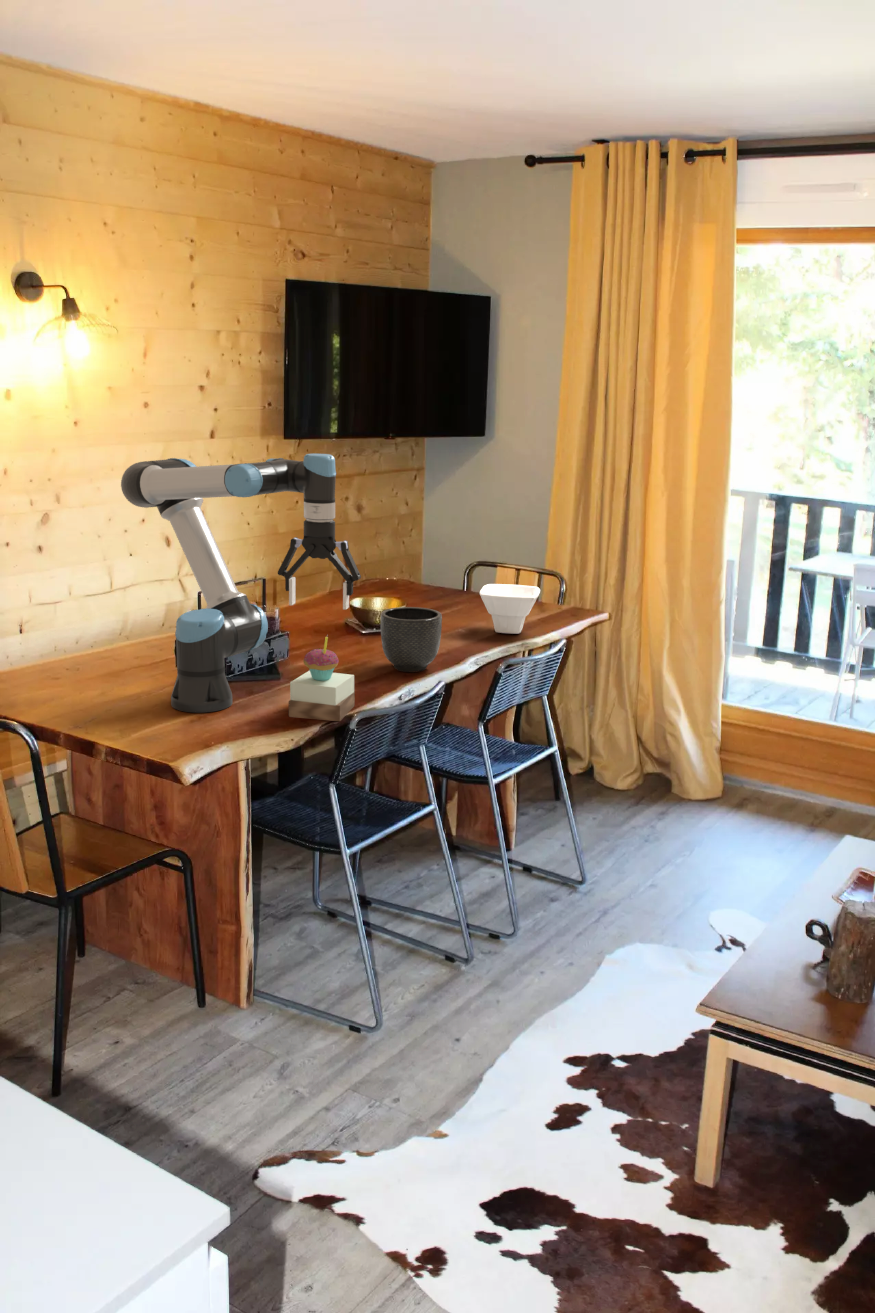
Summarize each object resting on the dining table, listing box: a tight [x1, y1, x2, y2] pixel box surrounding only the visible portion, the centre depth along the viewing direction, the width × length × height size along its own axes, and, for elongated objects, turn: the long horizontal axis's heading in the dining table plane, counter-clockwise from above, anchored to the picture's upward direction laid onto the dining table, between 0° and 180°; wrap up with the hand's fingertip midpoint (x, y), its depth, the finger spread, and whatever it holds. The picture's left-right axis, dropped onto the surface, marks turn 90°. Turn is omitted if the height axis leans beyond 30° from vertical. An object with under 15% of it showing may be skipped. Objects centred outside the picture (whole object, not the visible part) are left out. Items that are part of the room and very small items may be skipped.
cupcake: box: [302, 634, 340, 681], centre depth 284 cm, size 9×8×12 cm
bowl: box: [479, 583, 541, 635], centre depth 372 cm, size 19×19×14 cm
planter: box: [380, 606, 443, 673], centre depth 327 cm, size 17×17×16 cm
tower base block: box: [288, 690, 356, 722], centre depth 288 cm, size 13×13×4 cm
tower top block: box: [289, 669, 355, 705], centre depth 287 cm, size 12×12×4 cm
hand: (319, 606), depth 282 cm, fingers open, 13 cm apart
